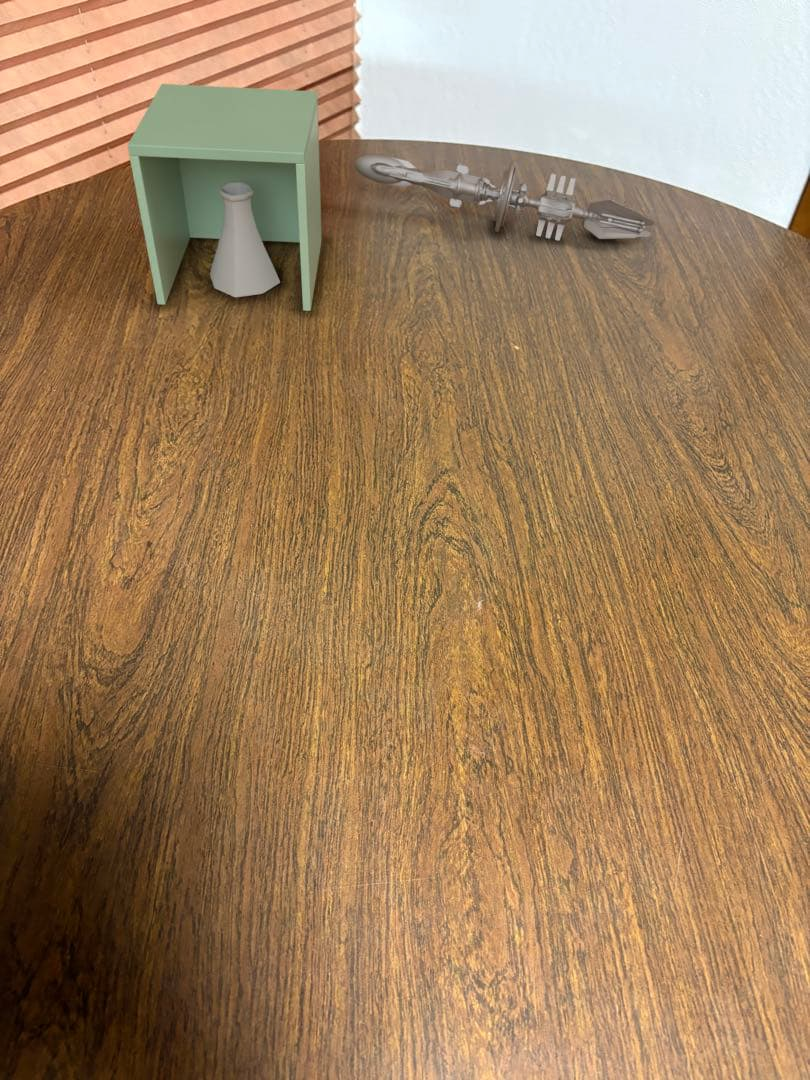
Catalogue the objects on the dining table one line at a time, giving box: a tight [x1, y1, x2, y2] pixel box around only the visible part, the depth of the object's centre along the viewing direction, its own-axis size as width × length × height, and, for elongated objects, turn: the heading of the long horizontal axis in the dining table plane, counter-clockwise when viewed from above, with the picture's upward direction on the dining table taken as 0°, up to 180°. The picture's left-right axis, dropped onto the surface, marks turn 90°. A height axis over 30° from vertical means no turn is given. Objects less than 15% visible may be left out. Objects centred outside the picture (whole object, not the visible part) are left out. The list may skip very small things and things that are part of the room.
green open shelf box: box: [127, 83, 323, 312], centre depth 87 cm, size 15×16×16 cm
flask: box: [209, 181, 281, 298], centre depth 88 cm, size 7×7×10 cm
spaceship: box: [354, 153, 655, 242], centre depth 99 cm, size 8×35×8 cm
